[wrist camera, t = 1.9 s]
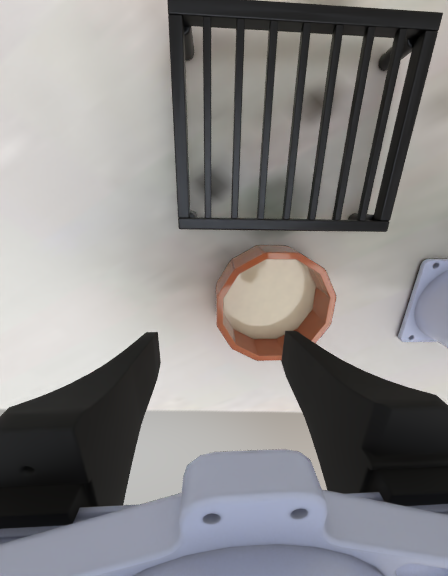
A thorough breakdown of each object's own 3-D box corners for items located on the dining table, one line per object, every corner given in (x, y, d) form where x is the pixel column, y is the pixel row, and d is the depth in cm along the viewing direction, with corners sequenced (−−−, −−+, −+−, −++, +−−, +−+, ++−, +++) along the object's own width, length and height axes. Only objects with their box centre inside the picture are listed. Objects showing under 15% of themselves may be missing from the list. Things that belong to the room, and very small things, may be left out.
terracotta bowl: (325, 245, 19) (345, 253, 16) (309, 339, 22) (324, 359, 19) (216, 244, 18) (217, 251, 16) (215, 341, 22) (216, 361, 19)
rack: (396, 51, 15) (443, 12, 12) (359, 227, 19) (387, 231, 16) (176, 38, 14) (166, -7, 11) (184, 224, 18) (178, 229, 15)
